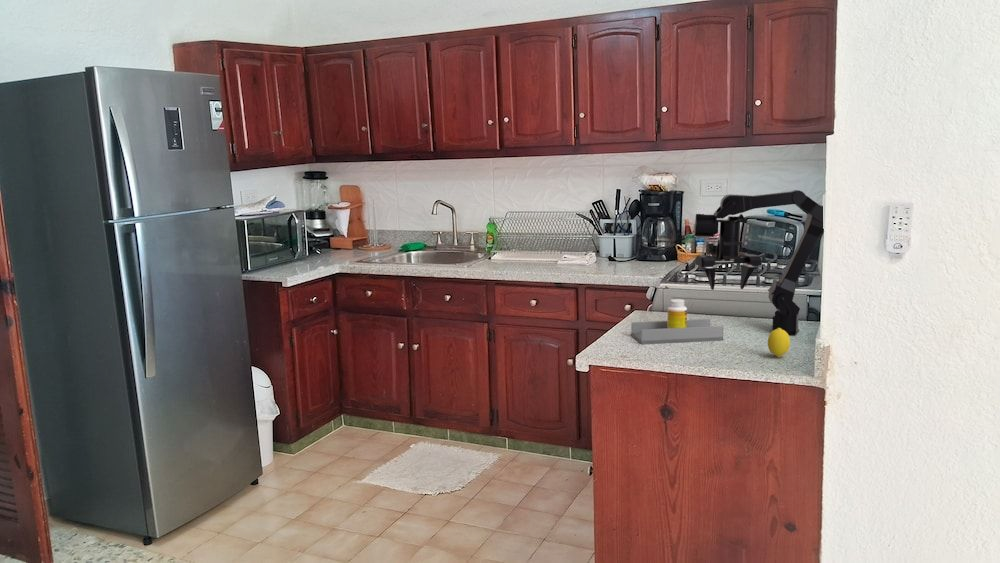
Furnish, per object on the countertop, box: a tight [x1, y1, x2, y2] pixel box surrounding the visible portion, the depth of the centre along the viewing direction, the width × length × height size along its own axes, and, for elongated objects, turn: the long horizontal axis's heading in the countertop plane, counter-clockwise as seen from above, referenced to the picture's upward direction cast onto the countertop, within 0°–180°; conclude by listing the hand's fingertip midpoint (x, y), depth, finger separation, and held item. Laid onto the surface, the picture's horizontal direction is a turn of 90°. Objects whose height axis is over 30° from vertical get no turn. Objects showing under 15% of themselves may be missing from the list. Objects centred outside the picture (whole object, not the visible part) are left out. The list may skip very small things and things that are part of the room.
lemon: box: [767, 328, 791, 358], centre depth 206 cm, size 6×6×8 cm
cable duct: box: [630, 318, 724, 345], centre depth 231 cm, size 24×11×4 cm, turn 95°
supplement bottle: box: [666, 298, 688, 328], centre depth 230 cm, size 6×6×10 cm
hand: (727, 289), depth 235 cm, fingers open, 9 cm apart
